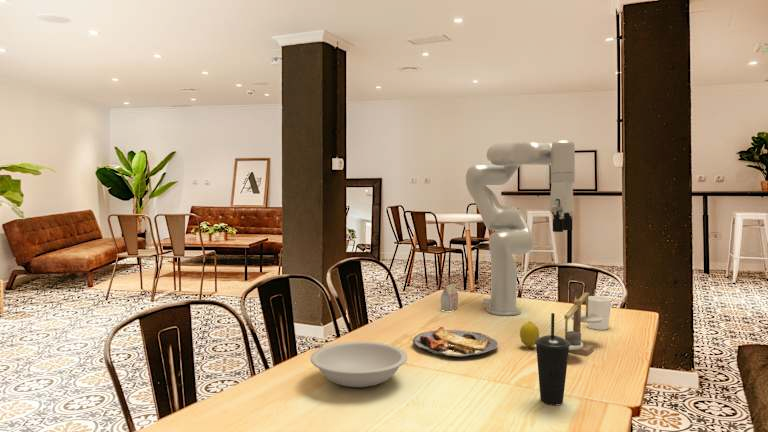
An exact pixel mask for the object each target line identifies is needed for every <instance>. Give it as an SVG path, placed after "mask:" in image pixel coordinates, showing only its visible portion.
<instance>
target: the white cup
mask: <svg viewBox="0 0 768 432" xmlns="http://www.w3.org/2000/svg"><path fill="white" fill-rule="evenodd" d="M611 302H612V299H611V298H609V297H605V296H599V295H589V297H588V313H590V314H596V315H599V316H602V317H603V321H602V322H599V323H586V325H587V328H589V329H592V330H598V331H600V330H602V331H605V330H607V329H609V325H610V323H609V322H610V317H611Z"/></svg>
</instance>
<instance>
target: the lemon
mask: <svg viewBox="0 0 768 432" xmlns="http://www.w3.org/2000/svg"><path fill="white" fill-rule="evenodd" d="M519 337H520V340H521V343H522V344H523V345H525V346H526V347H527V348H529V349H531V348H532V347H533V346H536V344H535V339H536V338H539V337H540V331H539V328H538V326H537V325H536V323H533V322H532V321H531V320H530V321H527V322H524V324H522V326H521V327H520V331H519Z"/></svg>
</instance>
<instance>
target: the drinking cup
mask: <svg viewBox="0 0 768 432" xmlns="http://www.w3.org/2000/svg"><path fill="white" fill-rule="evenodd" d="M550 314H551V316H550V317H551V318H550V319H551V320H550V334H548V335H543V336H539V338H536V339H535V347H536V348H535V349H536V357H537V358H536V359H537V361H536V362H537V370H538V385H539V396H540V398H539V399H540V402H541V403H543V402H544V403H543V404H545V403H547V404H546V405H549V404H552V405H551V406H557V405H556V404H560V405H562V404H563V403H564V396H565V395H564V394H565V388H566V387H565V386H566V377H567V370H568V369H567V368H568V361H569V360H568V359H569V353H570V352H569V347H570V342H569V341H568V340H565V339H564V338H565V337H561V336H558V335H555V316H556V315H555V313H554V312H552V313H550ZM561 403H562V404H561ZM553 404H554V405H553Z"/></svg>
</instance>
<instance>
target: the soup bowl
mask: <svg viewBox="0 0 768 432" xmlns="http://www.w3.org/2000/svg"><path fill="white" fill-rule="evenodd" d="M407 361H408V354H407V352H406V351H405V350H404V349H402V348H400V347H397V346H395V345H393V344H389V343H383V342H378V341H363V340H361V341H360V340H359V341H347V342H346V341H345V342H338V343H334V344H328V345H327V346H323V347H321V348H318V349H317V350H315V351H313V353H311V355H310V362H311V364H312V365H313V366H314V367H316V368H317V369H319V371H320V372H321V373H322V374H323V376H324V377H326V378H327V379H328V380H329V381H331V382H333V383H335V384H337V385H340V386H343V387H350V388H367V387H372V386H377V385H379V384H382V383H384V382H386V381H387V380H389V379H390V378H392V377H393V376H394V374H396V373H397V371H398V370H399V368H400V367H401V366H403V365H404V364H406V362H407Z"/></svg>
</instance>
